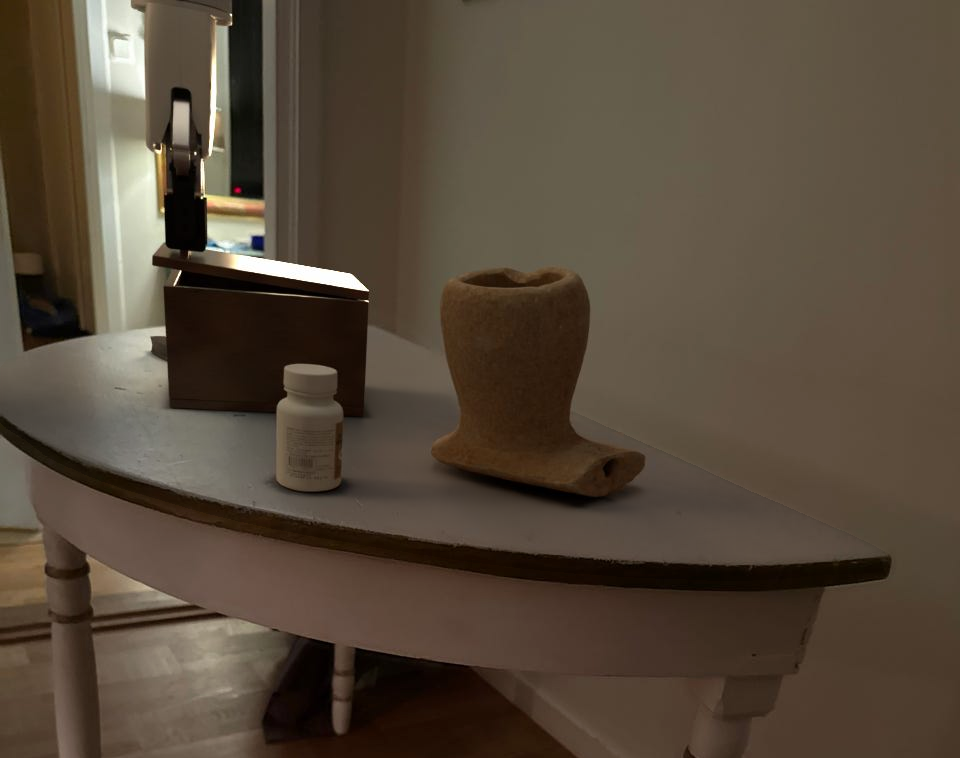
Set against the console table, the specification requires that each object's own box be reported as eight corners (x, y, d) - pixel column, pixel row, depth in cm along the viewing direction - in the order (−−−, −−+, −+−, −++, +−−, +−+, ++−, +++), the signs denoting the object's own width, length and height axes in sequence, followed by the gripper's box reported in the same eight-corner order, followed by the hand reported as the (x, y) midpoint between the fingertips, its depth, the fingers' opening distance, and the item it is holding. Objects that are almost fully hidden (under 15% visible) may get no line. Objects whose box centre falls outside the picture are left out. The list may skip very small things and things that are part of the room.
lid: (151, 265, 72) (153, 196, 70) (163, 251, 84) (165, 191, 82) (368, 301, 77) (376, 237, 75) (350, 282, 89) (356, 227, 87)
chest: (169, 407, 77) (163, 285, 73) (177, 375, 89) (172, 268, 85) (363, 416, 82) (368, 301, 77) (347, 384, 93) (351, 283, 89)
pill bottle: (352, 489, 62) (357, 374, 59) (293, 496, 60) (294, 376, 56) (323, 471, 65) (326, 361, 62) (265, 476, 63) (265, 362, 60)
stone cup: (394, 473, 67) (407, 253, 60) (475, 446, 76) (494, 253, 70) (580, 524, 61) (618, 285, 54) (644, 487, 70) (682, 280, 63)
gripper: (139, 2, 77) (148, 235, 85) (118, -37, 62) (131, 250, 70) (231, 18, 79) (232, 245, 87) (232, -16, 64) (232, 261, 72)
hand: (187, 244), depth 78 cm, fingers closed on lid, 5 cm apart
